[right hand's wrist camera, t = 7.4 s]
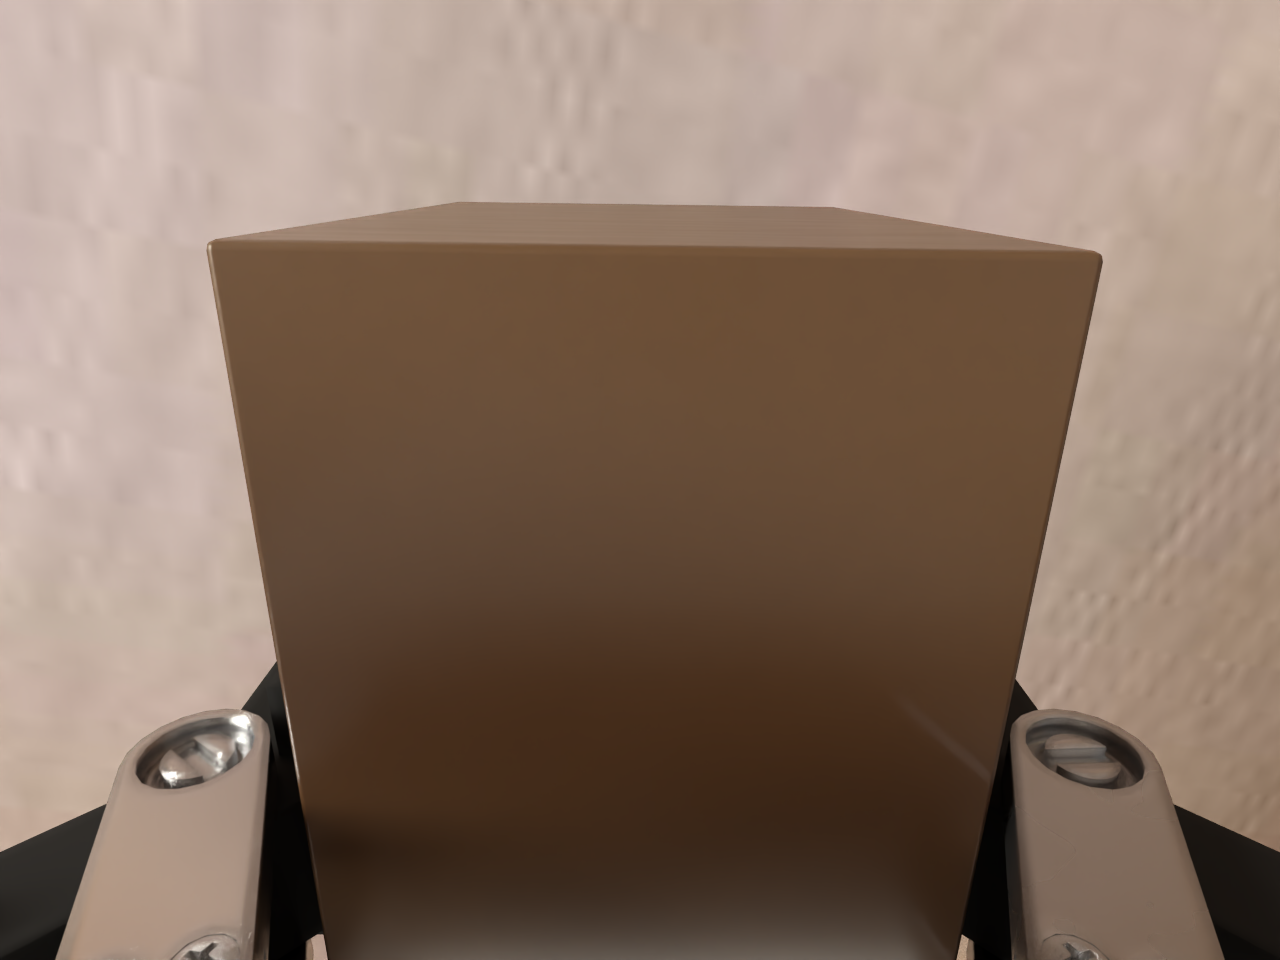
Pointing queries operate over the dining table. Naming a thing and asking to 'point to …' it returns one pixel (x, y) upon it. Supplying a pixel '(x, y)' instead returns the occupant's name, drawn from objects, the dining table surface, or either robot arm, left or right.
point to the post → (648, 565)
